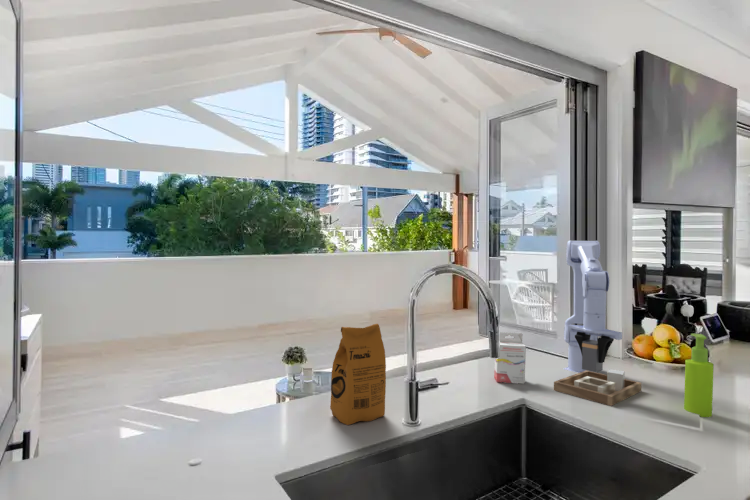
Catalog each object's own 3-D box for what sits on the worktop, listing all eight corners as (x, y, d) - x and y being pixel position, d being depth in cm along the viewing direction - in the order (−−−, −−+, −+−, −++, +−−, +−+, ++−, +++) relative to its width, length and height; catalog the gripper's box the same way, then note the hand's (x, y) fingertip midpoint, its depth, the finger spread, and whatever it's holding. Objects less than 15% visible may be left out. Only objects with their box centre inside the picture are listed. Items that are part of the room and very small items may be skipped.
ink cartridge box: (496, 382, 140) (497, 334, 140) (494, 378, 145) (495, 331, 145) (525, 384, 139) (526, 335, 139) (521, 379, 144) (522, 332, 144)
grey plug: (608, 385, 137) (609, 369, 137) (624, 388, 135) (624, 371, 135) (606, 389, 134) (607, 372, 134) (622, 391, 131) (622, 374, 131)
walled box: (586, 379, 145) (586, 368, 145) (641, 393, 133) (641, 381, 132) (553, 392, 132) (553, 380, 132) (611, 408, 120) (611, 394, 120)
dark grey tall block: (588, 366, 134) (589, 339, 134) (602, 369, 131) (603, 341, 130) (581, 369, 131) (582, 341, 131) (596, 372, 128) (596, 343, 128)
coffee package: (325, 413, 112) (326, 324, 112) (369, 405, 119) (371, 320, 118) (343, 428, 104) (345, 331, 103) (390, 418, 110) (391, 326, 110)
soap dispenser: (705, 409, 120) (708, 333, 120) (715, 418, 114) (718, 338, 113) (679, 406, 122) (682, 331, 122) (688, 415, 116) (690, 336, 115)
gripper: (563, 311, 134) (562, 357, 134) (614, 318, 123) (613, 368, 123) (575, 309, 138) (573, 354, 139) (625, 315, 127) (624, 364, 128)
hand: (593, 360), depth 131 cm, fingers closed on dark grey tall block, 4 cm apart
